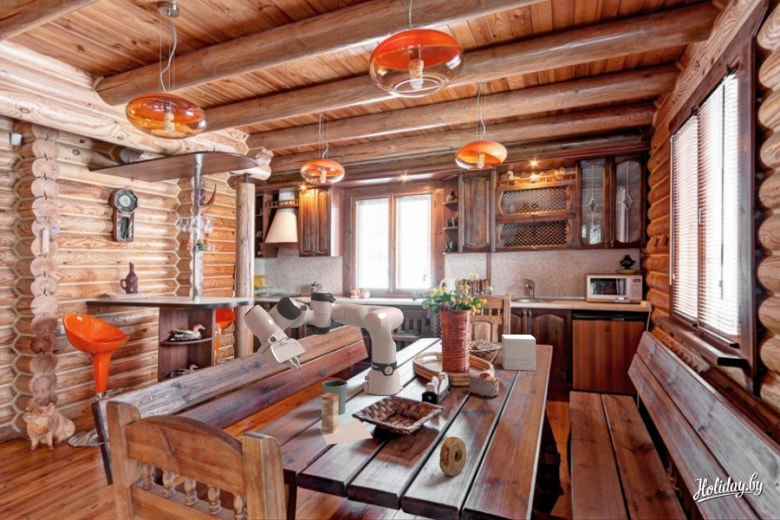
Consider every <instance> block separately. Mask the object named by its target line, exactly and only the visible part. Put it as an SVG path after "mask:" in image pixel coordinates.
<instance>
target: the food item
mask: <svg viewBox="0 0 780 520" xmlns="http://www.w3.org/2000/svg"><path fill="white" fill-rule="evenodd" d="M500 381H501V380H500V378H499V377H495V376H491V373H488V372H481V373H475V372H474V373H472V374H470V375H469V384H468V385H469V389H468V390H469V393H471V392H472V394H476V395H479V396H480V395H481V396H484V395H485V397H490V398H494V397H496V396H497V397H498V396H499V395H500V393H499V392H500Z"/></svg>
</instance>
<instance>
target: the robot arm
mask: <svg viewBox="0 0 780 520" xmlns="http://www.w3.org/2000/svg"><path fill="white" fill-rule="evenodd" d="M336 301H337V299H336V298H335V297H334V295H333V294H332V293H330V292H329V291H326V290H323V289H319V290H316V291H313V292H312V293H311V296H310V302H309V305H308V304H307V303H305V302H304V301H303V300H301V299H298V298H293V297H291V296H282V297H281V298H280V299H279V300H278V301H277V303H276V304H275V305H274V306H272V308H271V309H270V310H269V311H268V312H267V311H266V310H265V309H264V308H263V307H262V306H261V305H260V304H256V305H253V306H252V307H251V308H250V309H249V310H247V312H246V313H245V314H244V316H243V320H244V322H245V324H246V327H248V328H249V330H250V331H251V333H252V334H253V335H254V336H256V338H257V339H259V340H258V341H259V342H260V344H261V345H260V347H259V348H258V349H257V351H256V352H257V353H258V354H259V355H260V356H262V358H263V360H264V361H265V363H267V364H266V365H268V366H269V367H270V368H271V369H277V368H280V367H282V366H284V365H286V366H287V367H289V368H290V369H292V371H294V372H298V371H299V370H301V369H302V365H301V364H300V361H299V358H301V357H302V356H303V355H304V354H305V353H306V349H305V347H303V345H302V344H301V343H300V342H299V341H298V340H296V339H295V338H291V337H288V335H287V334H286V333H285V330H287V328H291V329H296V328H299V327H301V326H302V325H304V324H305V325H304V327H305V328H306V329H307V330H308V332H310V333H311V334H313V335H315V336H324V335H327V334H329V333H330V331H331V323H332V320H333V321H334V322H337V323H339V324H341V325H345V326H350V327H355V328H360V329H362V328H363V329H365V330H366V331H367V332H368V334H369V336H370V339H371V343H372V345H371V346H372V361H371V366H370V369H369V371H368V372H367V374H366V375H364V381H363V382H362V384H361V385H362V388H363V390H364V393H365V394H371V395H376V396H391V395H396V394H398V393H399V392H401V391H402V390H403V389H404V386H402V385H401V373H400V371H399V370H398V360H397V344H396V342H395V341H394V340H393V337H392V331H393V330H395V329H397V328H398V327H400V326H401V325H402V324H403V322H404V319H405V318H404V312H403V311H402V310H401V309H399V307H398V308H397V307H393V306H387V305H386V306H383V305H371V304H370V305H366V304H359V303H352V302H336Z"/></svg>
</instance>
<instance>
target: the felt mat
mask: <svg viewBox="0 0 780 520" xmlns="http://www.w3.org/2000/svg"><path fill="white" fill-rule="evenodd" d="M317 428H318V430H319V431H320V433H321V435H322V437H323V440H324V442H325V444H326V446H329V445H335V444H342V443H349V442H355V441H361V440H367V439H373V436H372V435H371V433H370V431H368V429H367V428H366V427H365V424H363V422H362V421H361V420H356V421H355V420H353V421H348V422H340V423H339V422H338V429H337V430H336V431H335V432H334V433H329V432H322V425H319V426H318V427H317Z"/></svg>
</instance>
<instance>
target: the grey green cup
mask: <svg viewBox="0 0 780 520" xmlns="http://www.w3.org/2000/svg"><path fill="white" fill-rule="evenodd" d="M321 389H322V396H323V395H325V394H326V393H334V394H339V397H338V416H341V415H343V414H345V413H346V404H347V392H348V391H347V390H348V381H346V380H343V379H330V380H325V381H323V382H322V384H321Z"/></svg>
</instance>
